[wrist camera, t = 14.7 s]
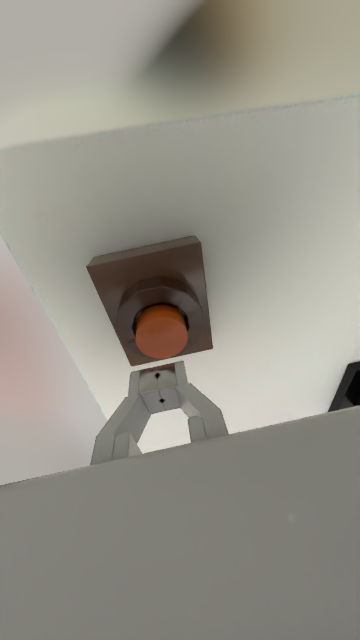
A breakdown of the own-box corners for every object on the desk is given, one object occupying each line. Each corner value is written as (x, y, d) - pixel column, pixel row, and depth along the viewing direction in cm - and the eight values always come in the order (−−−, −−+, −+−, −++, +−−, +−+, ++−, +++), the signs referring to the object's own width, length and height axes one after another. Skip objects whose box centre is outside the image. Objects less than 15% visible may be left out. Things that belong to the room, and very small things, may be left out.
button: (130, 310, 14) (128, 324, 13) (180, 299, 14) (183, 312, 13) (144, 347, 16) (143, 363, 15) (187, 338, 16) (191, 352, 15)
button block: (93, 257, 16) (77, 276, 12) (195, 235, 16) (207, 248, 12) (132, 351, 21) (129, 381, 18) (207, 334, 21) (218, 362, 18)
